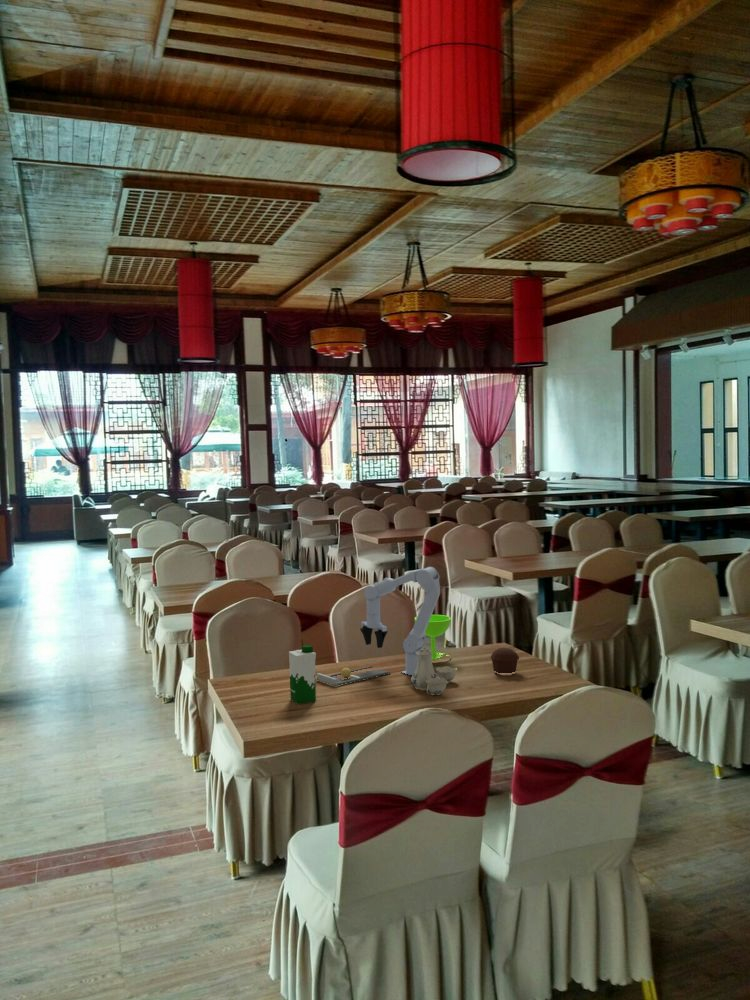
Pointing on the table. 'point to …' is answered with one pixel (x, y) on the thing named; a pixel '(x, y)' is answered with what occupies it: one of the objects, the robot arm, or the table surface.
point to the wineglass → (436, 631)
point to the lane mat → (356, 677)
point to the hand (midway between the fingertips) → (374, 646)
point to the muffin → (504, 660)
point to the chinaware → (431, 674)
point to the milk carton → (302, 675)
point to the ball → (346, 672)
